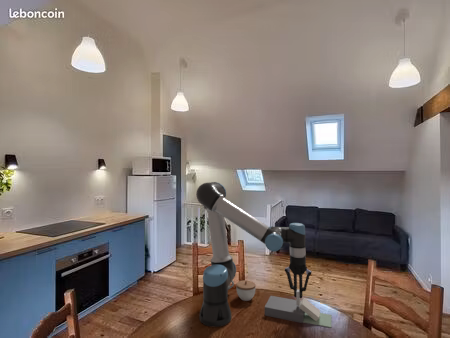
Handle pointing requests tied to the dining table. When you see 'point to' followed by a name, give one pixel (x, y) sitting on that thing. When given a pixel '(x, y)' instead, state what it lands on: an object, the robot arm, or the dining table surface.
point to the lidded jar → (245, 289)
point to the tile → (310, 309)
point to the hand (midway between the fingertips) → (298, 304)
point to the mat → (319, 320)
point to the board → (284, 309)
